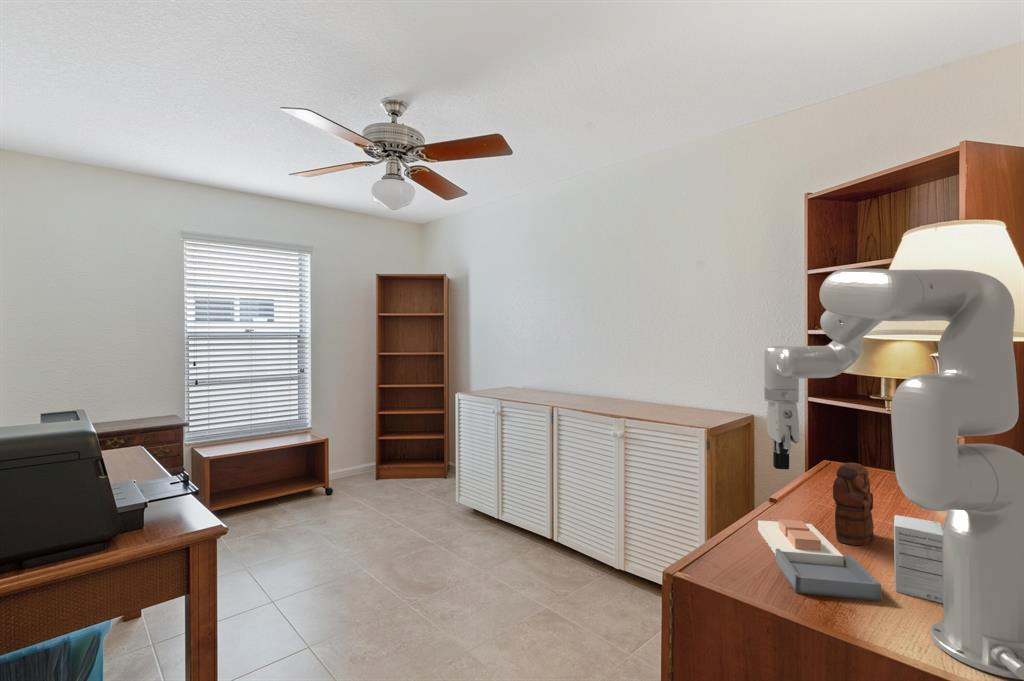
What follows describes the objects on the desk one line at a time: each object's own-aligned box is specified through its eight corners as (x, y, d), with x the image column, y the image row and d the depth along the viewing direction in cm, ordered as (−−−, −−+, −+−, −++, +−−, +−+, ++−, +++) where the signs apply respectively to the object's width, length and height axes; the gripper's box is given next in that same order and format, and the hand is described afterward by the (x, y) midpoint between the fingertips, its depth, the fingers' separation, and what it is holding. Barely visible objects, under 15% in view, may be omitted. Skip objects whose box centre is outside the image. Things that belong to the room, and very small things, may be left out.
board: (843, 567, 101) (843, 556, 101) (780, 562, 104) (780, 551, 104) (811, 533, 118) (811, 524, 118) (758, 529, 121) (757, 520, 121)
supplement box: (894, 576, 97) (894, 513, 97) (944, 588, 92) (943, 522, 92) (894, 591, 91) (893, 525, 91) (946, 605, 86) (946, 534, 86)
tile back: (809, 538, 110) (809, 528, 110) (785, 536, 111) (785, 527, 111) (802, 529, 115) (801, 520, 115) (778, 528, 116) (778, 519, 116)
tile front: (821, 550, 104) (820, 540, 104) (795, 548, 105) (795, 538, 105) (812, 541, 108) (812, 531, 108) (787, 539, 110) (787, 529, 110)
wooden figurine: (863, 550, 109) (862, 470, 109) (830, 541, 114) (830, 465, 114) (878, 536, 117) (877, 461, 117) (847, 528, 122) (846, 456, 121)
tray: (881, 601, 88) (881, 584, 88) (796, 592, 91) (795, 577, 91) (849, 568, 100) (849, 554, 100) (775, 562, 104) (775, 548, 103)
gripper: (809, 400, 113) (808, 478, 113) (788, 391, 127) (787, 461, 128) (773, 399, 114) (773, 476, 115) (757, 391, 129) (757, 459, 129)
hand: (781, 468), depth 121 cm, fingers closed
